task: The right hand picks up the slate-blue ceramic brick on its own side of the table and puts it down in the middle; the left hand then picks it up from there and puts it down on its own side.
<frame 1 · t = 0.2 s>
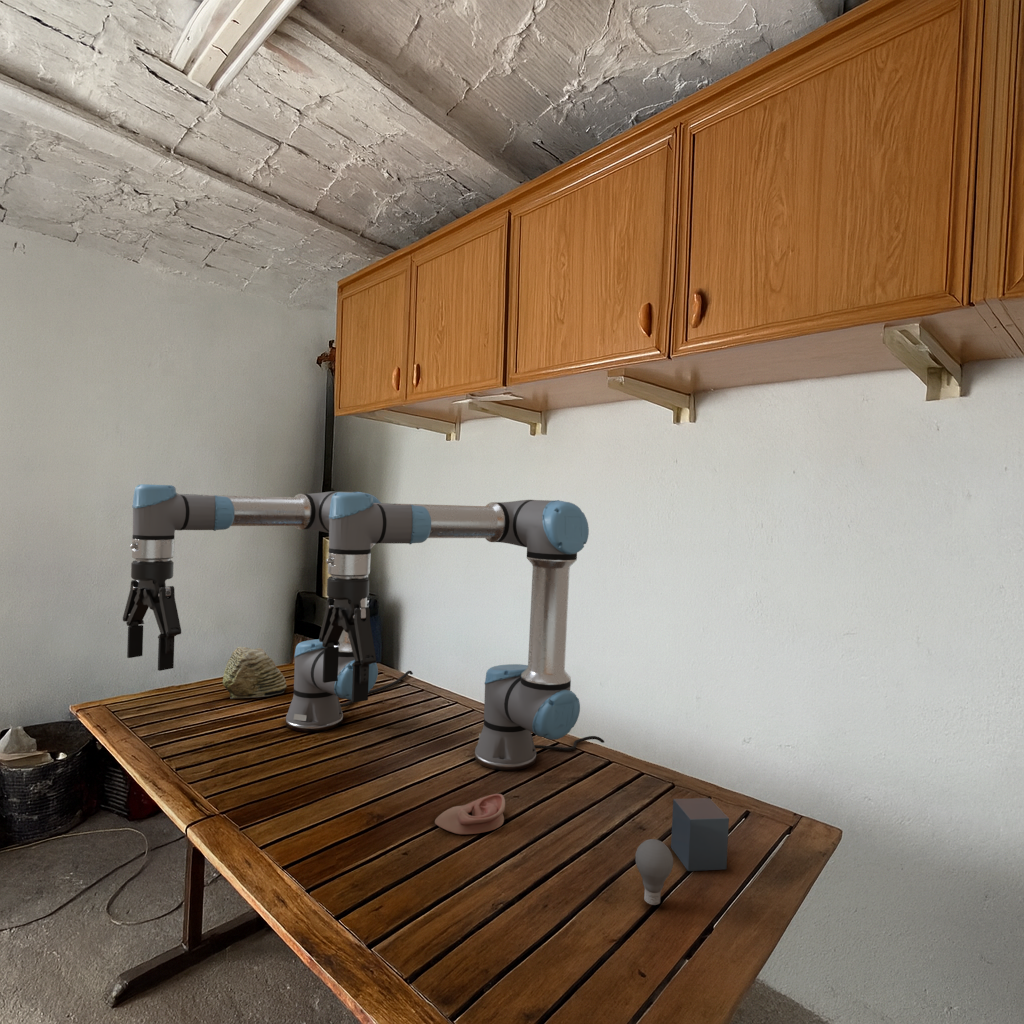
left hand: (149, 662, 130), 28 cm above the table, tool pointing down, fingers open, 13 cm apart
right hand: (344, 690, 117), 28 cm above the table, tool pointing down, fingers open, 13 cm apart
brick: (697, 858, 117), on the table
light bulb: (652, 903, 103), on the table
fossil: (254, 694, 198), on the table
anatomical model: (470, 821, 126), on the table
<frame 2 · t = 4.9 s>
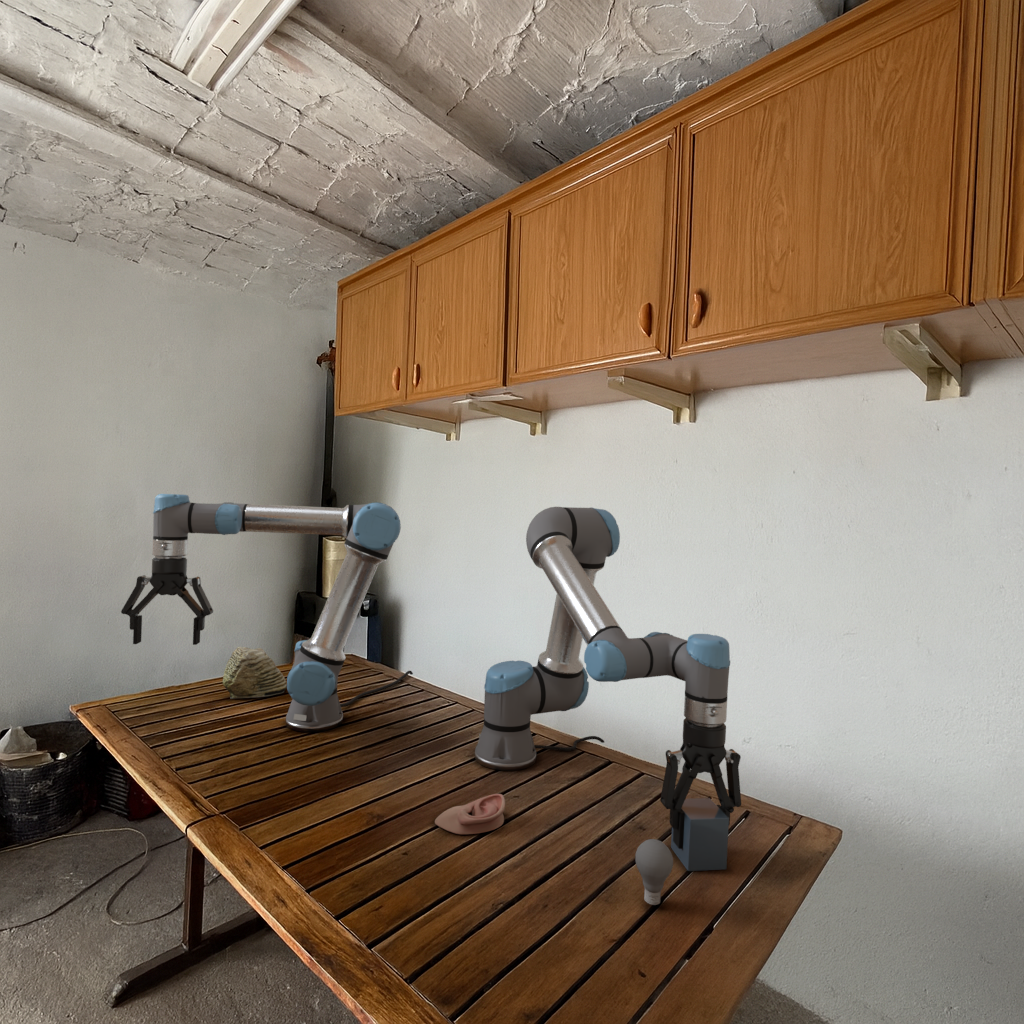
left hand: (166, 643, 155), 26 cm above the table, tool pointing down, fingers open, 13 cm apart
right hand: (698, 843, 117), 3 cm above the table, tool pointing down, fingers closed on brick, 7 cm apart
brick: (697, 858, 117), on the table, touching right hand
everything else where it was.
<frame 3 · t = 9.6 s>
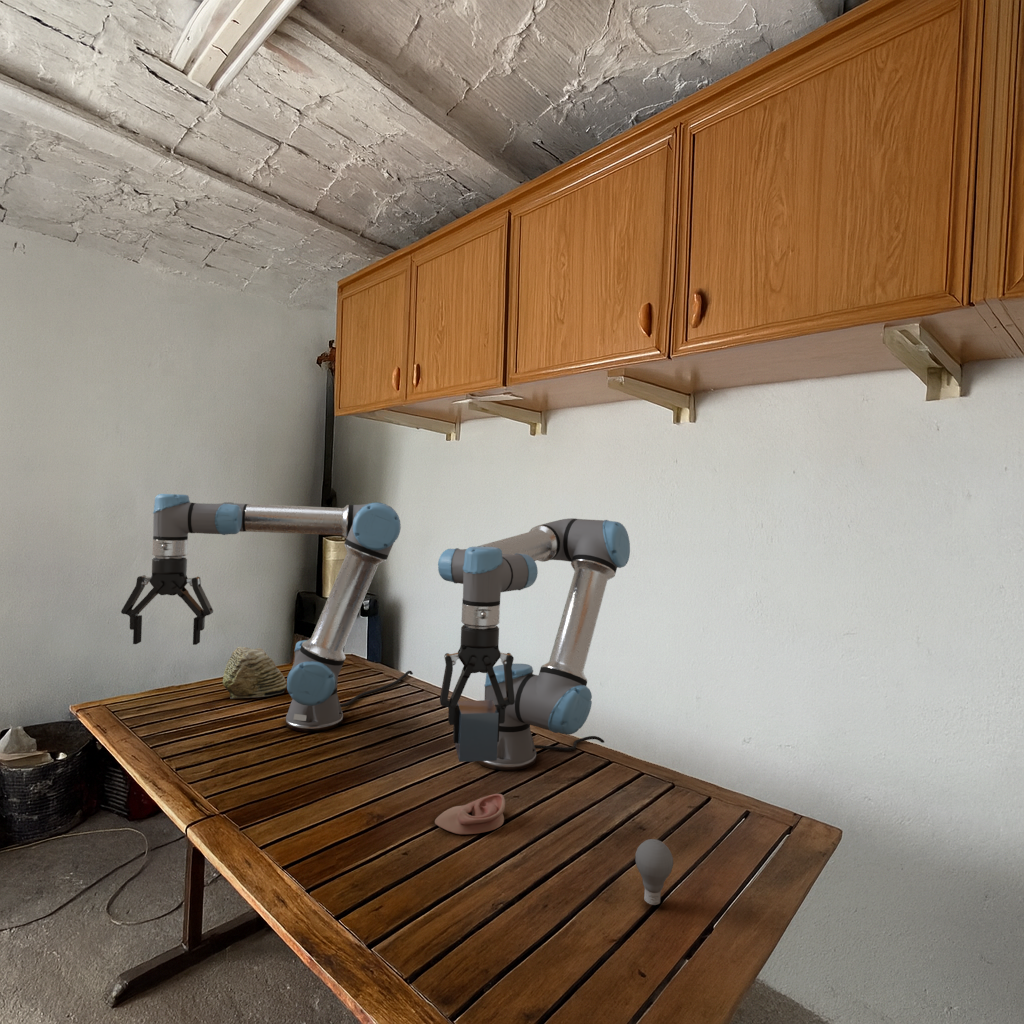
left hand: (166, 643, 155), 26 cm above the table, tool pointing down, fingers open, 13 cm apart
right hand: (475, 739, 126), 17 cm above the table, tool pointing down, fingers closed on brick, 7 cm apart
brick: (475, 753, 126), point 14 cm above the table, touching right hand
everything else where it was.
when the right hand's fingers open (5 cm above the table, at t = 14.6 s): brick drops 2 cm, on the table.
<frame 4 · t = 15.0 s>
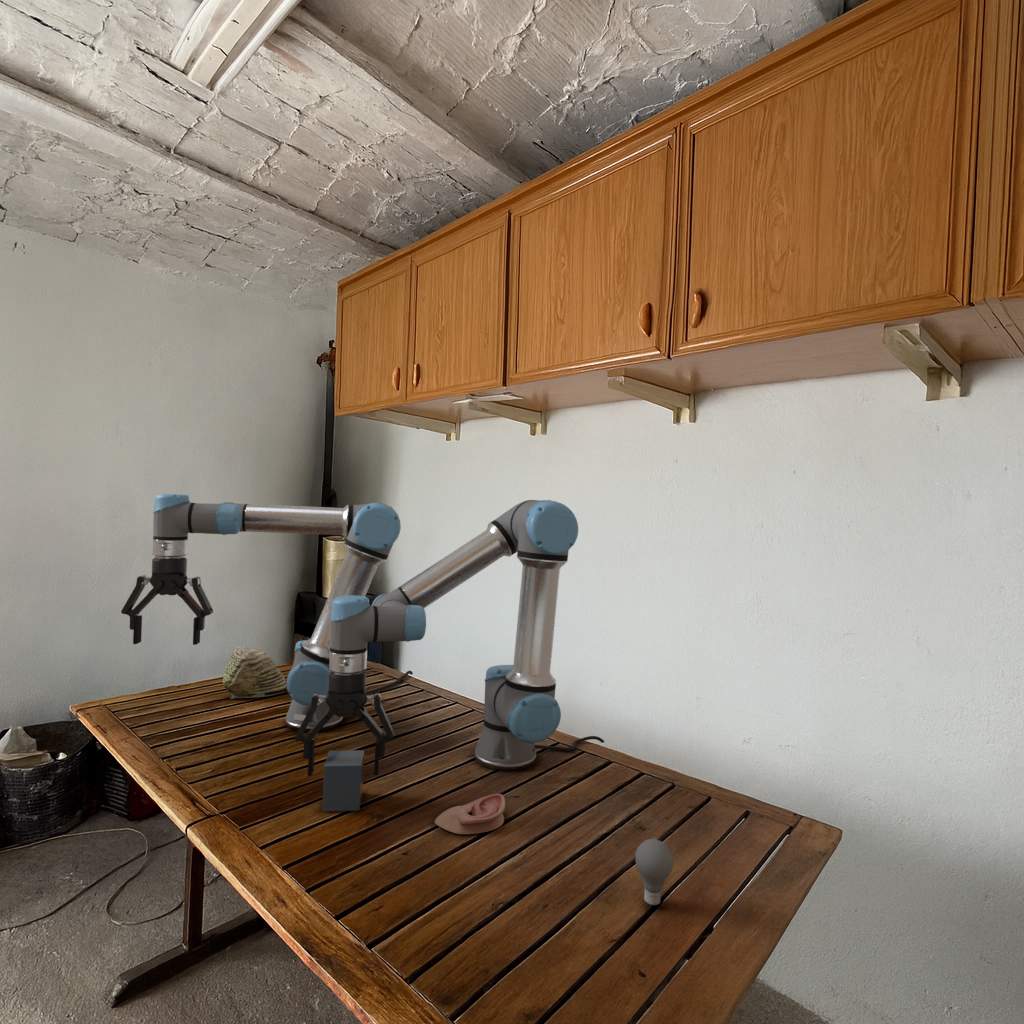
left hand: (166, 643, 155), 26 cm above the table, tool pointing down, fingers open, 13 cm apart
right hand: (343, 772, 132), 6 cm above the table, tool pointing down, fingers open, 13 cm apart
brick: (343, 802, 132), on the table
everything else where it was.
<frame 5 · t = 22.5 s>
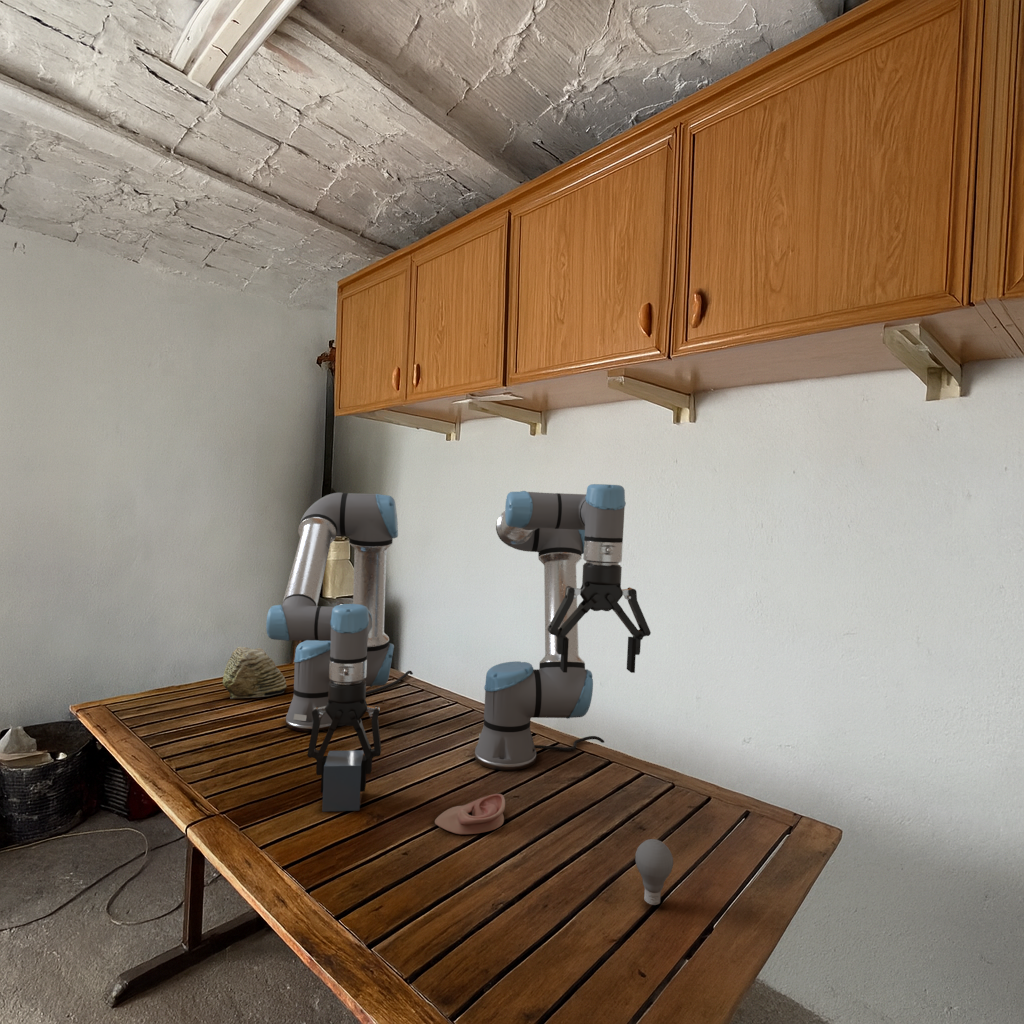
left hand: (343, 788, 132), 3 cm above the table, tool pointing down, fingers closed on brick, 7 cm apart
right hand: (597, 670, 124), 32 cm above the table, tool pointing down, fingers open, 13 cm apart
brick: (343, 802, 132), on the table, touching left hand
everything else where it was.
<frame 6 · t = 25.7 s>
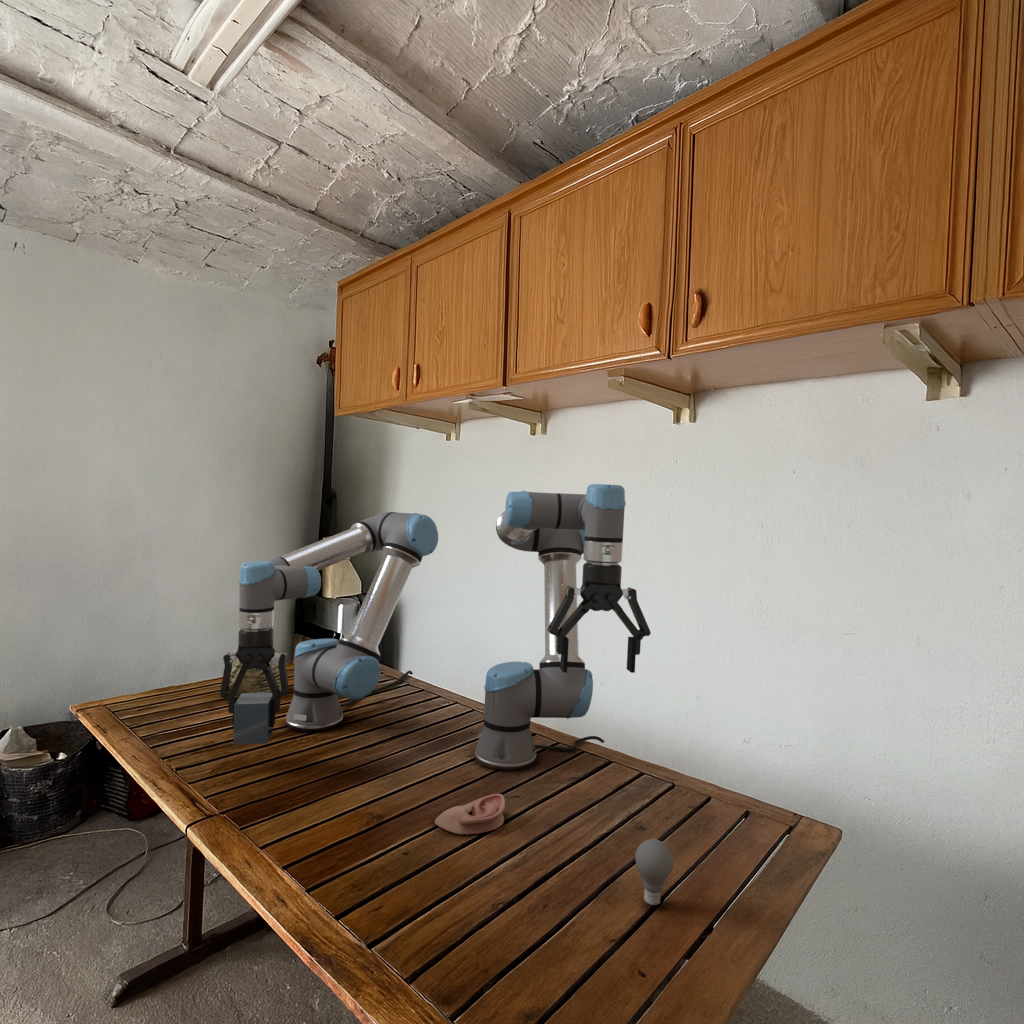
left hand: (254, 725, 147), 9 cm above the table, tool pointing down, fingers closed on brick, 7 cm apart
right hand: (597, 670, 124), 32 cm above the table, tool pointing down, fingers open, 13 cm apart
brick: (253, 737, 147), point 7 cm above the table, touching left hand
everything else where it was.
when the left hand's fingers open (5 cm above the table, at t = 28.9 s): brick drops 2 cm, on the table.
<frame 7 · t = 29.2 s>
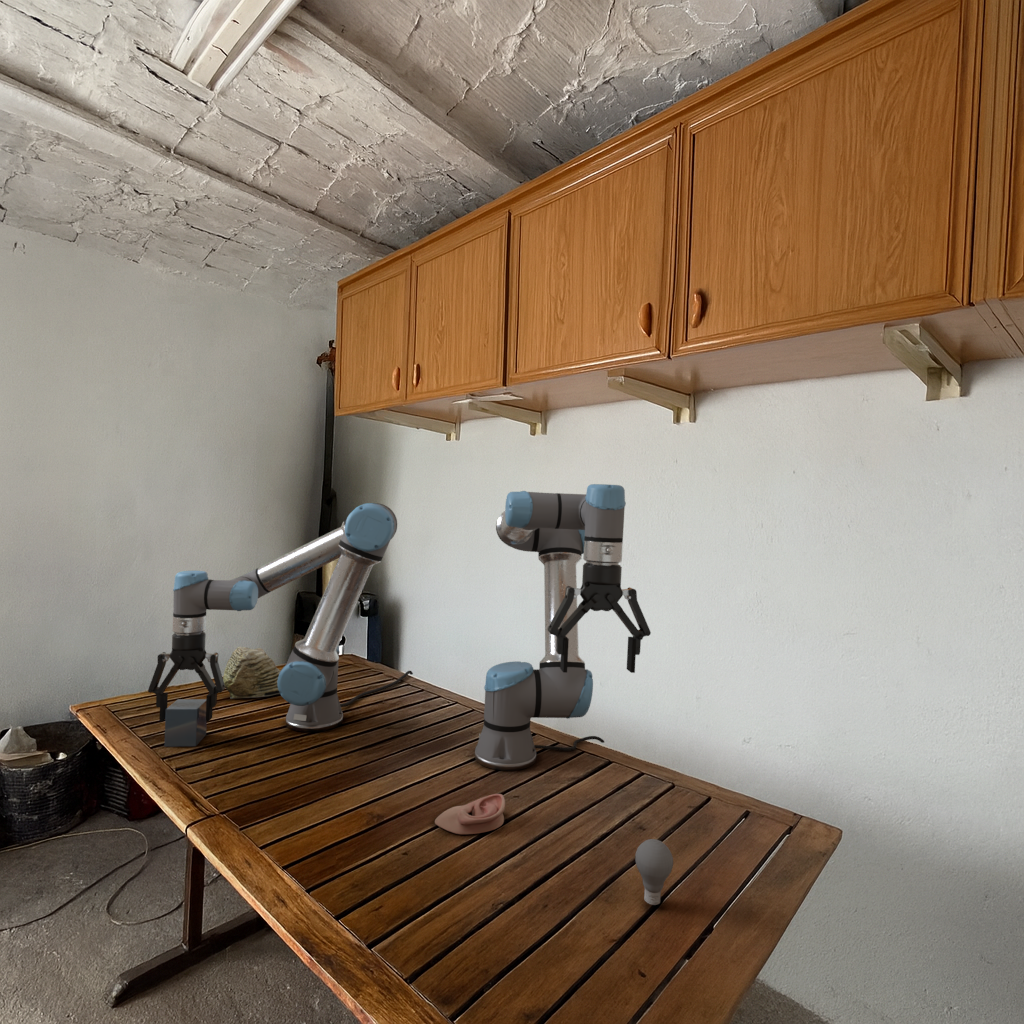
left hand: (186, 719, 160), 5 cm above the table, tool pointing down, fingers open, 10 cm apart
right hand: (597, 670, 124), 32 cm above the table, tool pointing down, fingers open, 13 cm apart
brick: (185, 740, 160), on the table
everything else where it was.
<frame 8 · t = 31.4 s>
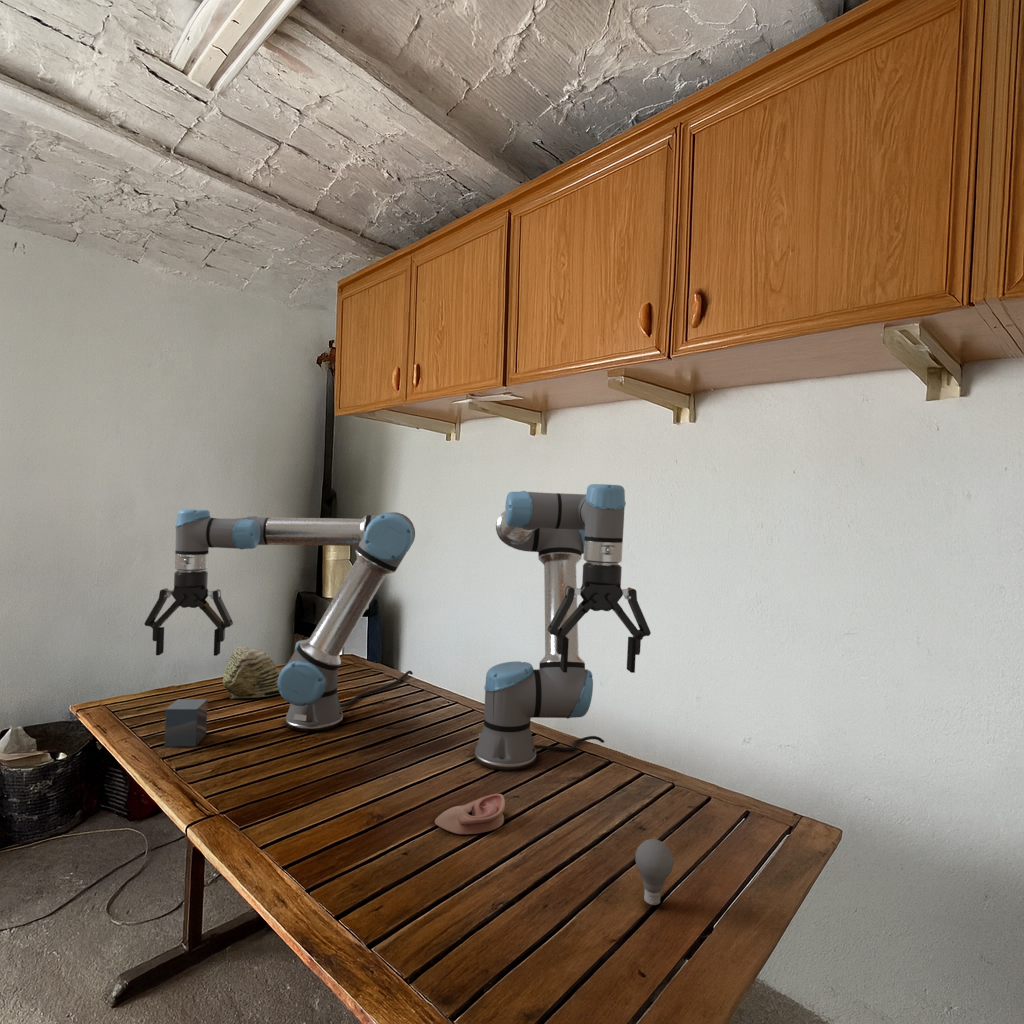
left hand: (188, 654, 160), 22 cm above the table, tool pointing down, fingers open, 13 cm apart
right hand: (597, 670, 124), 32 cm above the table, tool pointing down, fingers open, 13 cm apart
nothing on the table moved.
at the end: brick inside the target area (0.2 cm from its centre), on the table; brick tilted 0°; the two hands never held the brick at the same time; the left hand is holding nothing; the right hand is holding nothing; brick at rest at the end (0.0 cm/s) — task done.
